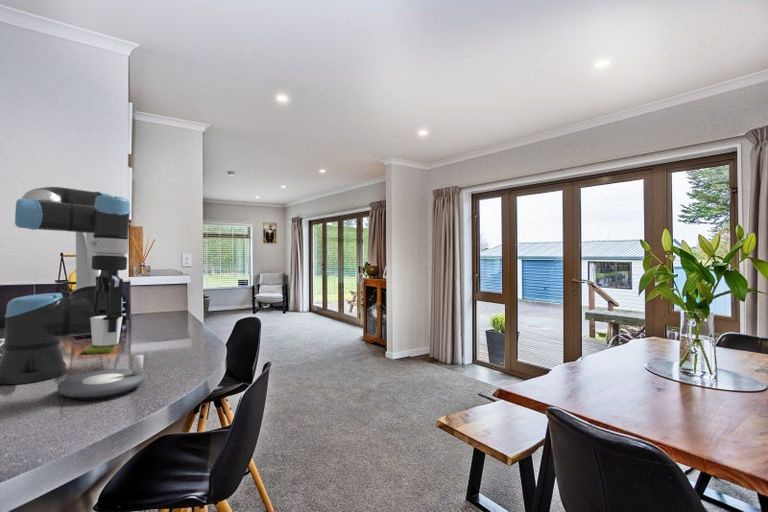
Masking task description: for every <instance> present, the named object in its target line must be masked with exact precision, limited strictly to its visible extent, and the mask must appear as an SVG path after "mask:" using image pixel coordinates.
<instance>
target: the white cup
mask: <svg viewBox="0 0 768 512" xmlns="http://www.w3.org/2000/svg"><path fill="white" fill-rule="evenodd" d="M104 317H106V315H103V316H95V317H91V318H90V319H91V334H92V335H91V345H96V346H104V345H103V339H104V320H103V318H104ZM122 322H123V315H122V316H121V317H119V319H118V329H117V344H119V341H120V336H121V328H122V324H123V323H122Z"/></svg>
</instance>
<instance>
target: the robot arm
mask: <svg viewBox="0 0 768 512" xmlns="http://www.w3.org/2000/svg"><path fill="white" fill-rule="evenodd" d="M21 197H22V198H19V199H17V200H16V202H15V212H14V213H15V214H14V224H15V226H16V227H17V228H19V229H27V230H34V231H35V230H41V231H43V230H44V231H56V232H57V231H61V232H71V233H75V269H76V271H75V277H76V279H75V281H76V284H75V285H76V288H75V289H74V290H72V291H71V292H70V295H69V297H64V296H63V294H62V293H61V292H52V293H47V292H46V293H38V294H30V295H24V296H19V297H14V298H12V299H10V300H9V301H8V302H7V304H6V309H5V310H6V312H5V315H4V318H5V327H4V328H5V329H4V342H3V343H4V345H3V352H2V354H1V357H0V384H1V385H16V384H18V385H19V384H28V383H34V382H35V383H36V382H40V381H45V380H50V379H53V378H57V377H60V376H62V375H64V374H65V373H66V371H67V363H66V362H65V361H64V357H63V354H62V351H61V347H60V342H61V339H60V338H65V337H77V336H92V334H91V319H90V318H91V317H95V316H103V315H106V317H104V318H103V320H104V339H103V345H104V346H106V345H115V344H117V345H118V343H117V329H118V319H119V317H121V316H123V314H122V312H123V304H124V303H123V302H124V300H123V284H124V279H123V278H121V277H119V271H126V270H127V267H128V266H127V265H128V257H127V256H126V255H128V253H129V225H130V213H131V209H130V205H131V204H130V200H129V199H128V198H125V197H122V196H115V195H111V194H110V193H105V192H101V191H88V190H82V189H75V188H67V187H63V186H62V187H61V186H47V187H38V188H33V189H31V190H29V191H27V192H26V193H24V194H23V196H21Z"/></svg>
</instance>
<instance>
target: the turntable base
mask: <svg viewBox="0 0 768 512" xmlns="http://www.w3.org/2000/svg"><path fill="white" fill-rule="evenodd" d="M131 390H132V389H129V390H126V391H122V392H118V393H113V394H108V395H102V396H92V397H71V398H72V399H75V400H84V401H86V400H87V401H88V400H99V399H107V398H113V397H116V396H120V395H122V394H123V395H124V394H125V393H128V392H130V391H131Z"/></svg>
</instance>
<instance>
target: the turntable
mask: <svg viewBox="0 0 768 512" xmlns="http://www.w3.org/2000/svg"><path fill="white" fill-rule="evenodd" d="M144 382H145V373H144V355H143V354H135V355H133V357H132V368H131V369H128V368H123V369H119V368H118V369H115V368H114V369H105V370H97V371H91V372H85V373H82V374H76V375H74V376H70V377H67V378H65V379H63V380H61V381H60V382H59V383H58V385H57V394H59V395H61V396H63V397H69V398H70V397H71V398H72V397H92V396H102V395H108V394H113V393H118V392H122V391H126V390H129V389H131V390H132V389H134V388H136V387H138V386H140V385H142V384H143V383H144ZM129 391H130V390H129Z"/></svg>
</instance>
